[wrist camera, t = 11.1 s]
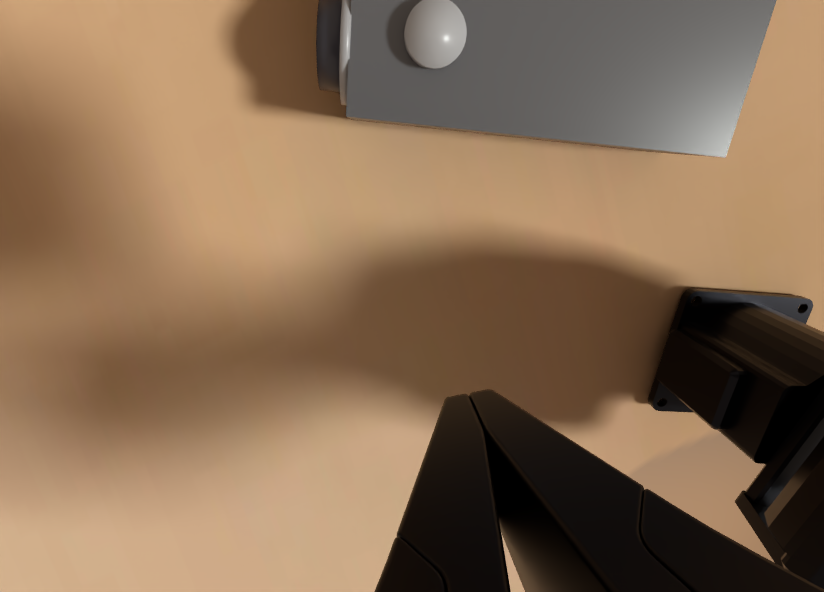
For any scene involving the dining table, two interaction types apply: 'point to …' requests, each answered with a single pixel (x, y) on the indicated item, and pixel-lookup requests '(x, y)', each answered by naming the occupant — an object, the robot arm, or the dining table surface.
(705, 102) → the block
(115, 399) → the dining table surface
